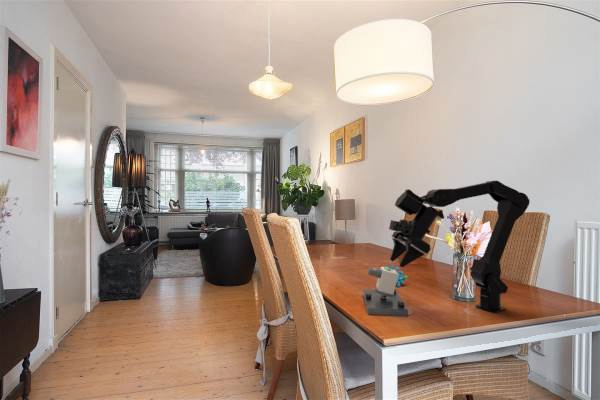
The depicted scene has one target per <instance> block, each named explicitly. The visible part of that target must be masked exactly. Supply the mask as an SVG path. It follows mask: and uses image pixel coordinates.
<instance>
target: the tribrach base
mask: <svg viewBox="0 0 600 400" xmlns="http://www.w3.org/2000/svg"><path fill="white" fill-rule="evenodd" d="M362 296H363V300H364V303H365V304H364V305H365V307H366V311H367V312H366V313H367V314H368V315H375V316H376V315H377V316H393V317H394V316H395V317H396V316H398V317H408V316H409V308H408V307H407V306H406V304H405V302H404V301H403V299H402V298H401V296H400V294H399V293H398V292H397V289H396V288H395V290H394V294H393V296H392V297H389V296H384V295H381V294H379V293H377V292H376V291H375V289H362Z"/></svg>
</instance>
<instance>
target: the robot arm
mask: <svg viewBox="0 0 600 400" xmlns="http://www.w3.org/2000/svg"><path fill="white" fill-rule="evenodd" d="M485 195H489V196H490V197H491V198H492V200H493V201H495V202H496V203H497V206H496V209H497V219H496V222H495V225H494V228H493V230H492V232H491V234H490V237H489V240H488V243H487V246H486V248H485V251H484V253H483V255H482V257H480V258H479V259H477V258H474V259H473V261H472V264H471V265H472V266H470V268H469V271H470V275H469V276H470V277H471V279H472V280H473V281H474V283H475V286H476V287H478V288H480V289H479V292H480V293H479V294H480V295H479V304H475V308H477V309H481V310H484V311H488V312H491V313H498V312H502V311H505V310H506V309H507V308H506V307H505V306H502V295H503V294H507V292H508V288H509V286H507V284H506V283H505V282H504V281H502V279H501V277H502V276H501V275H502V269H501V260H502V258H503V255H504V251H505V249H506V247H507V244H508V241H509V238H510V236H511V234H512V231H513V228H514V226H515V224H516V221H518V219H520V218H521V217H522V216H523V215H524V214H525V212H526V211H527V209H528V207H529V205H530V203H531V202H530V201H531V200H530V199H529V196H528V195H527V194H525V193H524V192H521V191H518V190H516V189H515V188H512V187H510V186H508V185H505V184H504V183H502V182H501V181H499V180H488V181H485V182H482V183H476V184H471V185H468V186H467V185H466V186H463V187H457V188H439V189H436V188H435V189H431V190H428V191H427V193H426V194H425V195H422V196H419V195H418V194H416V193H414V192H413V191H412V190H411V189H405V190H404V192H403V193H401V195H400V196H399V197H397V199H396V201H395V203H394V206H395V207H396V208H398V209H399V210H401V211H403V212H404V213H405V214H407V215H409V216H412V215H415V216H414V217H413V219H412V220H406V219H402V218H401V219H400V220H398V221H396V220H392V219H391V220H390V223H389V228H388V230H391V231H394V232H393V233H392V235H391V237H392V238H391V239H392V241H393V248H392V252H391V255H390V258H389V260H390V261H392V262H394V261H396V260H398V258H399V257H401V256H402V255H403V256H402V258H401V261H400V263H399V267H401V268H404V267H405V266H407V265H409V264H411V263H412V262H414V261H416V260H418V259H419V258H421V257H423V256H425V254H426V255H428V254H429V253H430V251H431V249H432V247H431V244H429V243H427V242H426V241H424V240H423V239H424V237H425V236H426V234H430V232H431V230H430V229H431V226H432V225H433V224H434V222H435V220H436V219H445V215H444V212H443V211H444V210H442V209H436V208H444V207H447V206H450V205H452V204H454V203H456V202H458V201H460V200H464V199H470V198H475V197H480V196H485ZM425 204H426V205H425ZM427 205H428V206H427Z"/></svg>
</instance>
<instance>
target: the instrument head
mask: <svg viewBox="0 0 600 400" xmlns="http://www.w3.org/2000/svg"><path fill="white" fill-rule="evenodd" d="M367 272H368V273H367V275H368V276H371V277H374V278H377V281H376V285H375V289H374V290H375V291H376V292H377V293H379V294H381V295H384V296H389V297H392V296H393V294H394V290H395V289H396V286H397V279H398V275H400V274H398V273H397V272H398V271H397V272H396V271H395V269H391V268H390V267H389V268H388V267H385V266H380V268H376V267H371V266H369V268H368V270H367Z"/></svg>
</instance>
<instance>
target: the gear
mask: <svg viewBox="0 0 600 400" xmlns="http://www.w3.org/2000/svg"><path fill="white" fill-rule="evenodd" d="M384 267H388V268H390V269H392V270H395V271H396V272H397V273H398V274H399V275H398V279H397V283H396V286H397V287H401V285H403V284H404V283H405V280H407V279H408V275H403V274H404V272H403V271H402V270H401V271H399V270H400V268H399V267H398V266H397V267H396V268H395V266H394V265H390V267H389V265H386V266H384ZM394 268H395V269H394Z"/></svg>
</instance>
